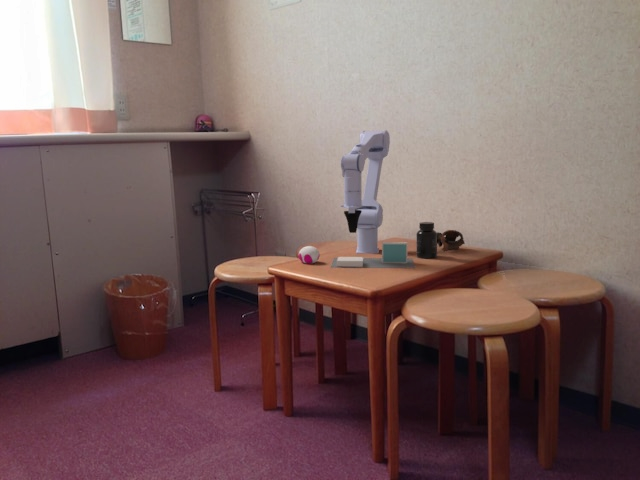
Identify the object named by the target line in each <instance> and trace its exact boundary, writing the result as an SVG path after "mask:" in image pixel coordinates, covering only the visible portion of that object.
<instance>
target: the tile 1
mask: <svg viewBox="0 0 640 480" xmlns="http://www.w3.org/2000/svg"><path fill="white" fill-rule="evenodd" d="M337 258H338V259H337V266H338V267H337V268H341V267H363V258H364V256H337Z"/></svg>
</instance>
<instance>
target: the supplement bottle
mask: <svg viewBox="0 0 640 480" xmlns="http://www.w3.org/2000/svg"><path fill="white" fill-rule="evenodd" d="M418 228H419V230H418V231H417V232H416V237H415V238H416V258H418V259H422V260H423V259H424V260H430V259H431V260H433V259H437V257H438V244H437V231H436V230H435V223H434V222H432V221H422V222H419V226H418Z"/></svg>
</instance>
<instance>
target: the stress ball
mask: <svg viewBox="0 0 640 480" xmlns="http://www.w3.org/2000/svg"><path fill="white" fill-rule="evenodd" d="M320 256H321V254H320V251H319V250H318V248H316V247H315V246H311V245H307V246H304V247H302V248H301V249H299V252H298V259H299V261H300V262H302V263H303V264H309V265H311V264H315V263H316V262H317V261H319V259H320Z"/></svg>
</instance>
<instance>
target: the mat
mask: <svg viewBox="0 0 640 480" xmlns="http://www.w3.org/2000/svg"><path fill="white" fill-rule="evenodd" d="M337 259H338V257H333V260H332V262H331V264H330V268H339V267H338V266H337ZM341 268H345V269H346V268H351V269H352V268H353V269H354V268H358V269H359V268H360V269H363V268H365V269H367V268H368V269H370V268H371V269H374V268H375V269H379V268H380V269H416V266H415V264H414V260H413V258H408V257H407V263H382V257H380V258H379V257H378V258H376V257H363V267H340V269H341Z"/></svg>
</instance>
